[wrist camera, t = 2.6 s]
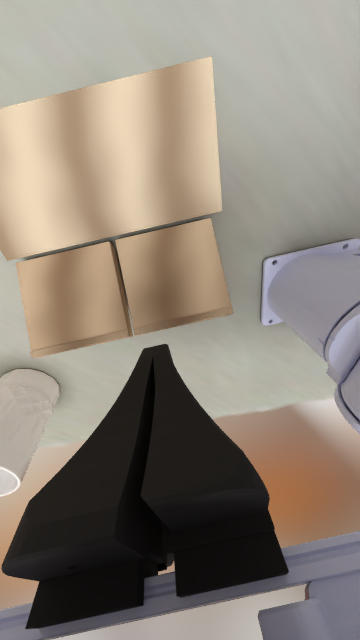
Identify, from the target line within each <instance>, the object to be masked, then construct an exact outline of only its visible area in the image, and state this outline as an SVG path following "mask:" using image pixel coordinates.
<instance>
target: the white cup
mask: <svg viewBox="0 0 360 640" xmlns="http://www.w3.org/2000/svg"><path fill="white" fill-rule="evenodd" d="M59 394H60V388H59V385H58V384H57V382H56V381H55V380H54V378H52V377H50V376H49V375H47V374H45V373H43V372H40V371H36V370H32V369H15V370H12V371H10V372H8V373H5V374H4V375H3V376H2V377H1V378H0V497H1V496H5V495H8V494H10V493H12V492H14V491H15V490H17V489H18V488H19V486H20V484H21V482H22V480H23V477H24V475H25V473H26V471H27V468H28V466H29V464H30V461H31V460H32V457H33V455H34V453H35V451H36V448H37V446H38V444H39V442H40V440H41V437H42V435H43V433H44V430H45V427H46V425H47V423H48V421H49V419H50V416H51V413H52V409H53V407H54V405H55V403H56V401H57V399H58V397H59Z"/></svg>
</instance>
